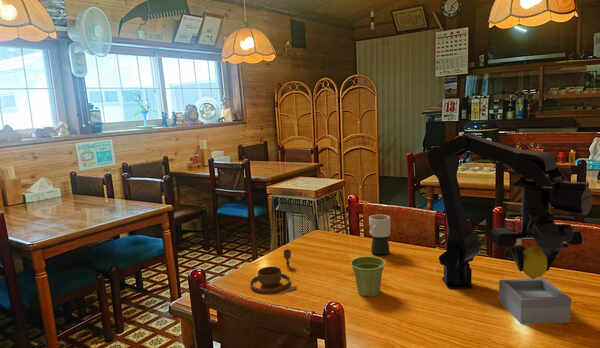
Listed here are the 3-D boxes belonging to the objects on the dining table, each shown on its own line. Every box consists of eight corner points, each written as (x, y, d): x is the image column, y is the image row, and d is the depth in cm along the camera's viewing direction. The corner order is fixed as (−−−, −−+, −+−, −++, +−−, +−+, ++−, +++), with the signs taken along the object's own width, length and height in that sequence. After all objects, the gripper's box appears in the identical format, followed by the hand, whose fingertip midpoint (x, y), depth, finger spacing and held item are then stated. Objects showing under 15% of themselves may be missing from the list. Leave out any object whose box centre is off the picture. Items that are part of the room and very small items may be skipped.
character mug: (376, 246, 148) (375, 212, 146) (395, 249, 144) (394, 214, 142) (364, 256, 139) (363, 220, 137) (384, 259, 135) (383, 222, 133)
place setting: (237, 284, 124) (235, 265, 123) (287, 265, 137) (286, 248, 136) (271, 302, 111) (270, 282, 110) (324, 279, 124) (323, 261, 123)
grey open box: (520, 324, 93) (521, 300, 92) (498, 302, 104) (499, 280, 103) (569, 323, 92) (571, 298, 91) (542, 300, 103) (543, 278, 102)
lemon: (550, 284, 94) (552, 251, 92) (524, 283, 95) (525, 250, 93) (541, 274, 99) (542, 243, 98) (516, 273, 100) (517, 242, 99)
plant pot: (365, 303, 106) (364, 271, 105) (345, 290, 115) (343, 260, 113) (393, 294, 111) (392, 263, 109) (371, 282, 119) (370, 253, 118)
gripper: (509, 217, 87) (507, 286, 89) (601, 214, 85) (596, 284, 88) (489, 205, 98) (487, 266, 100) (570, 202, 96) (566, 264, 99)
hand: (533, 270), depth 97 cm, fingers closed on lemon, 5 cm apart
